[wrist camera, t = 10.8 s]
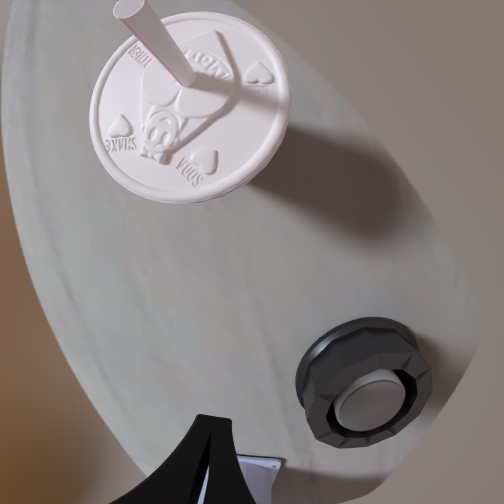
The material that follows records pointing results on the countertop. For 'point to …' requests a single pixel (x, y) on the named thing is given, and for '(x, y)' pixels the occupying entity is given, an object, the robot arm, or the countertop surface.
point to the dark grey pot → (358, 365)
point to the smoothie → (188, 104)
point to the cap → (369, 400)
